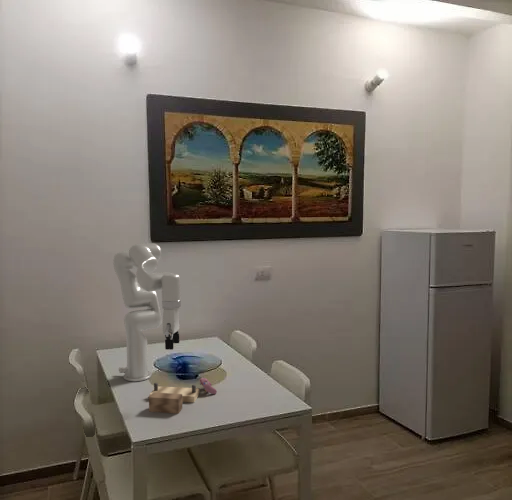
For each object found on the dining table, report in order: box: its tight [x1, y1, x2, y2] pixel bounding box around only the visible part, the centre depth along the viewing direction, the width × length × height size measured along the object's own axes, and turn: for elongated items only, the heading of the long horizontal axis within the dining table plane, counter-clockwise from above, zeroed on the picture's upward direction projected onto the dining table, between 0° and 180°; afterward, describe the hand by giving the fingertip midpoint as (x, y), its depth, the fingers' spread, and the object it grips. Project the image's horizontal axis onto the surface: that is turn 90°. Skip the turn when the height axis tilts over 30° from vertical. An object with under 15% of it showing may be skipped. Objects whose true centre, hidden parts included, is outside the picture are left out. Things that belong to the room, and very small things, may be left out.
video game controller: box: [198, 377, 218, 395], centre depth 209 cm, size 10×5×7 cm, turn 21°
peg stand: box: [149, 382, 200, 403], centre depth 202 cm, size 19×9×6 cm, turn 84°
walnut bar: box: [148, 392, 183, 415], centre depth 189 cm, size 12×5×6 cm, turn 82°
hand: (172, 346), depth 195 cm, fingers open, 9 cm apart
